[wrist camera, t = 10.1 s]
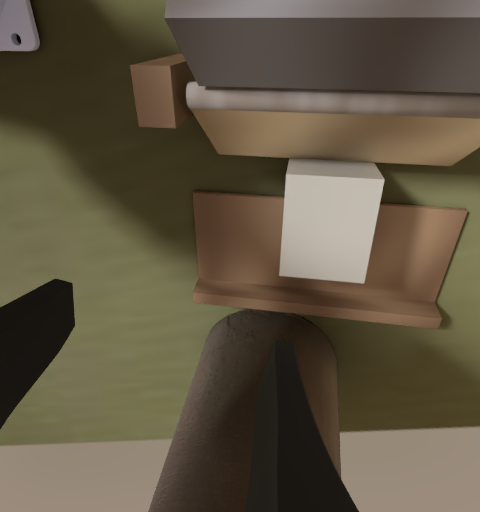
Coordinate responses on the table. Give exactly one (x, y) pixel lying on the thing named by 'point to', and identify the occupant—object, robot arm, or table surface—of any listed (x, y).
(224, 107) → the trapdoor
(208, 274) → the frame
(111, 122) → the table surface
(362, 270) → the stone block
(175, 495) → the pillar candle
